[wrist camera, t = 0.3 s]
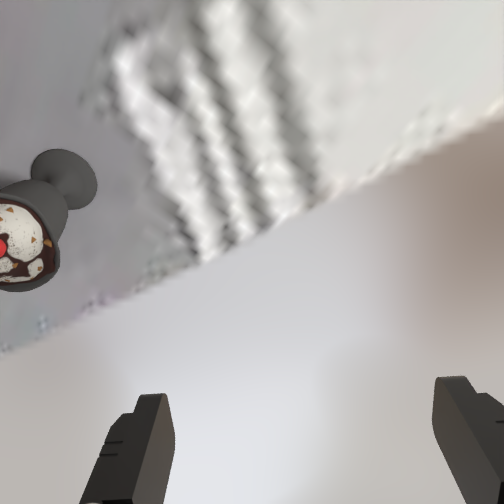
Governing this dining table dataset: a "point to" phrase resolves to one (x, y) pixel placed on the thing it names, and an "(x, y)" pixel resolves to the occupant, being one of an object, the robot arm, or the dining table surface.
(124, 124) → the dining table surface
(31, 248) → the sundae
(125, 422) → the robot arm
